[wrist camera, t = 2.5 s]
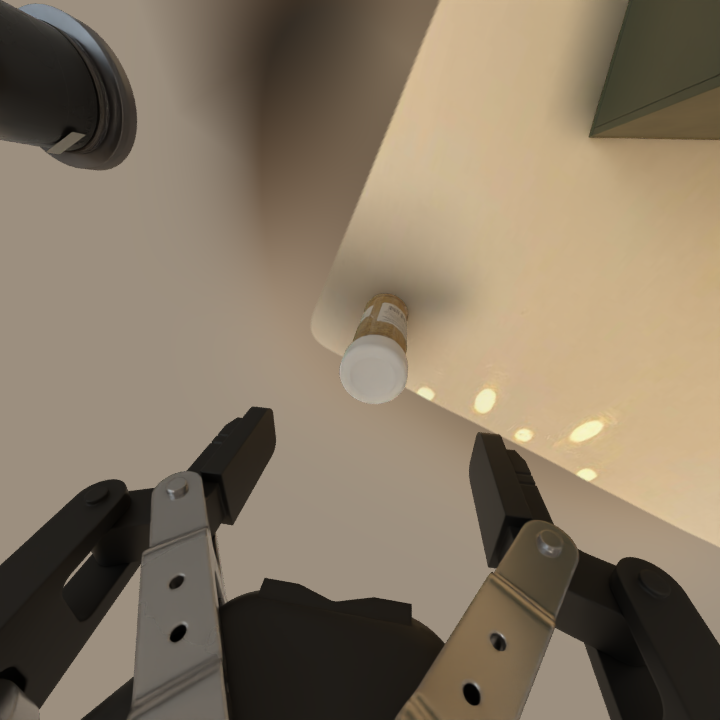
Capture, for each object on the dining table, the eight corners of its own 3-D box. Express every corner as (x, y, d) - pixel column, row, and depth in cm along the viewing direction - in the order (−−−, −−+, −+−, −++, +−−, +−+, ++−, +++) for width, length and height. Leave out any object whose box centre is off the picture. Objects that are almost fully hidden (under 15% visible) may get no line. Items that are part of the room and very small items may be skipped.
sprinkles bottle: (357, 303, 32) (325, 360, 20) (398, 285, 31) (390, 334, 19) (376, 341, 34) (356, 415, 22) (416, 325, 33) (418, 394, 21)
